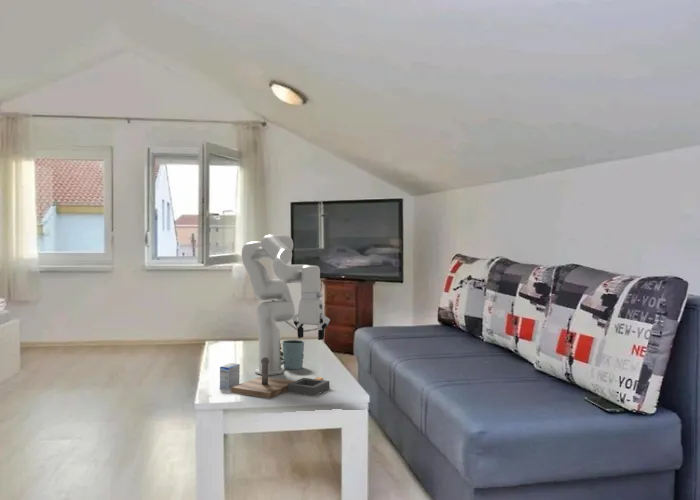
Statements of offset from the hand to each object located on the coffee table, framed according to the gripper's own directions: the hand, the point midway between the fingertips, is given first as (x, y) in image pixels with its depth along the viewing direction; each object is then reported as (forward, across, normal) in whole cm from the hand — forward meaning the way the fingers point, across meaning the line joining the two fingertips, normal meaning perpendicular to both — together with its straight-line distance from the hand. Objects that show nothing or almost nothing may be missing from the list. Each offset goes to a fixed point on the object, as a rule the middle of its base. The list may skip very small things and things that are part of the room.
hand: (310, 338), depth 237 cm
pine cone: (+19, +50, -42) cm, 68 cm away
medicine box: (+20, +29, +16) cm, 38 cm away
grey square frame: (+19, -2, +3) cm, 20 cm away
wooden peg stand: (+19, +14, +12) cm, 27 cm away
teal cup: (+19, +26, -25) cm, 41 cm away
